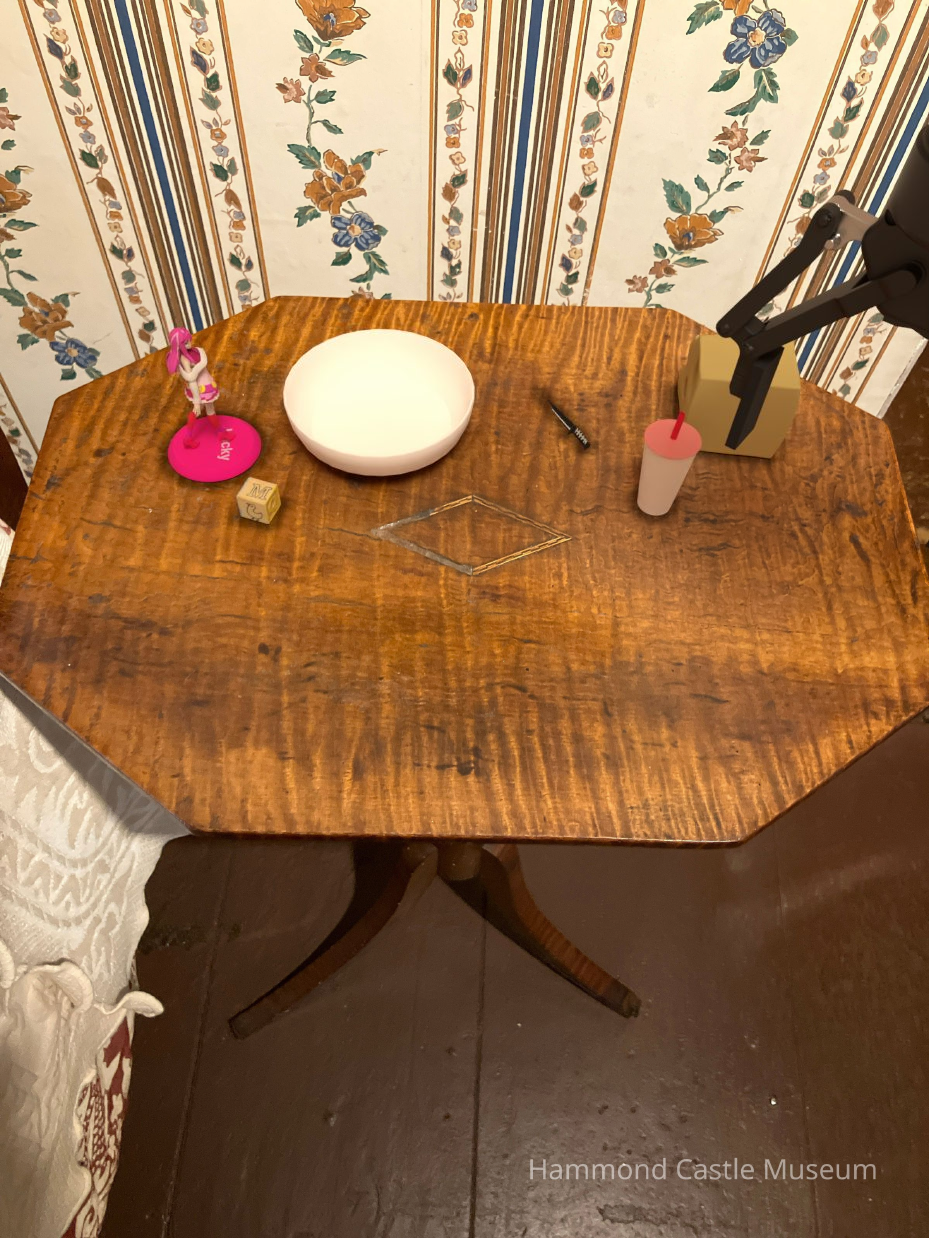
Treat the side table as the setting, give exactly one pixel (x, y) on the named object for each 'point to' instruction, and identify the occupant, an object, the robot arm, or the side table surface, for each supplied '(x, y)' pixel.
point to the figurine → (206, 422)
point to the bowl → (379, 401)
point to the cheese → (716, 407)
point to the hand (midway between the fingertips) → (834, 485)
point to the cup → (666, 462)
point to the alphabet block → (258, 500)
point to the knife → (570, 426)
